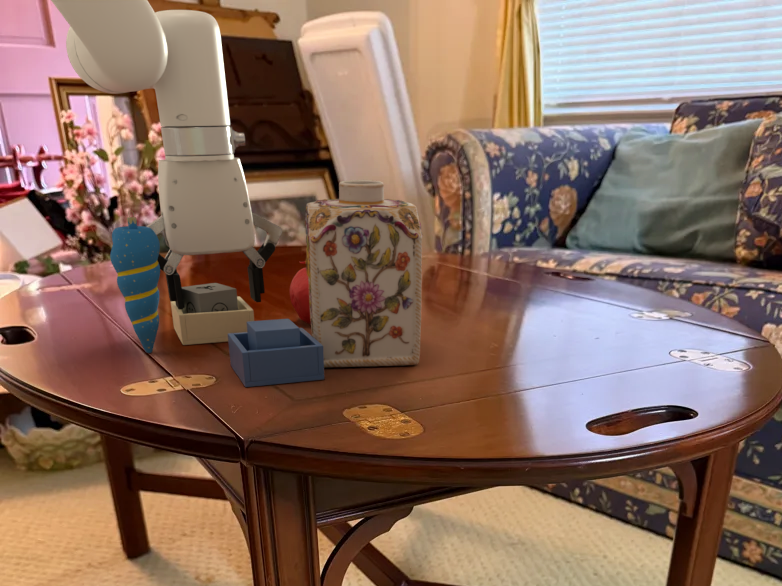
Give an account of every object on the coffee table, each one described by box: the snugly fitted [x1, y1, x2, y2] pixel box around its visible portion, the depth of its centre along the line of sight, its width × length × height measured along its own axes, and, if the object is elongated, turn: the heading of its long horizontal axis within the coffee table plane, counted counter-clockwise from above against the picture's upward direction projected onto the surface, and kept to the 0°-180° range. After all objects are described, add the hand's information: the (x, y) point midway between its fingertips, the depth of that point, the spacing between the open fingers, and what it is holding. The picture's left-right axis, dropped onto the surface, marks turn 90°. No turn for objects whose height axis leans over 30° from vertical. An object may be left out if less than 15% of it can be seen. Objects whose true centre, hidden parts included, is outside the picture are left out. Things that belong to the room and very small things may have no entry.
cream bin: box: [169, 295, 255, 346], centre depth 94 cm, size 9×9×4 cm
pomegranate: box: [289, 260, 311, 326], centre depth 99 cm, size 10×10×9 cm
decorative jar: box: [304, 179, 424, 369], centre depth 83 cm, size 12×12×18 cm
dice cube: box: [181, 282, 238, 314], centre depth 93 cm, size 5×5×5 cm
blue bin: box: [227, 327, 325, 388], centre depth 80 cm, size 8×8×4 cm
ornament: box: [109, 210, 161, 354], centre depth 83 cm, size 5×5×15 cm
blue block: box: [247, 318, 300, 350], centre depth 79 cm, size 4×4×4 cm
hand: (218, 303), depth 93 cm, fingers open, 8 cm apart
